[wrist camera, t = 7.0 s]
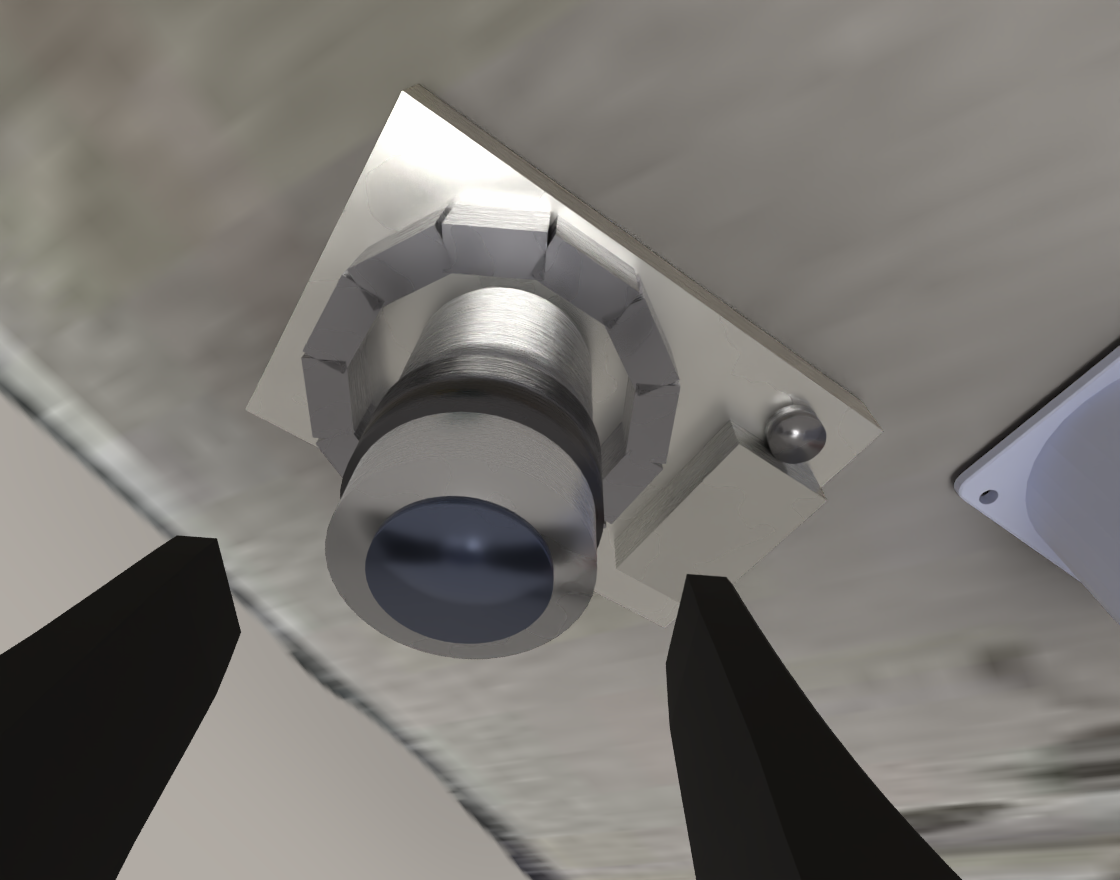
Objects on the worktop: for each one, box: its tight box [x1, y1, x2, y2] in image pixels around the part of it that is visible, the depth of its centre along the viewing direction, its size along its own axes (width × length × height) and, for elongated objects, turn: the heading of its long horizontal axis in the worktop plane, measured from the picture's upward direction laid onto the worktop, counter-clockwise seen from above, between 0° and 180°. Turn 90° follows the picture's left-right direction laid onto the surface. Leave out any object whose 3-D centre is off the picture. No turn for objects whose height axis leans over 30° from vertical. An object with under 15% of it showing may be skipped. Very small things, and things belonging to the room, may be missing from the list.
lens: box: [325, 287, 604, 659], centre depth 14 cm, size 5×5×7 cm
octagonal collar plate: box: [245, 84, 884, 628], centre depth 18 cm, size 14×9×3 cm, turn 56°
